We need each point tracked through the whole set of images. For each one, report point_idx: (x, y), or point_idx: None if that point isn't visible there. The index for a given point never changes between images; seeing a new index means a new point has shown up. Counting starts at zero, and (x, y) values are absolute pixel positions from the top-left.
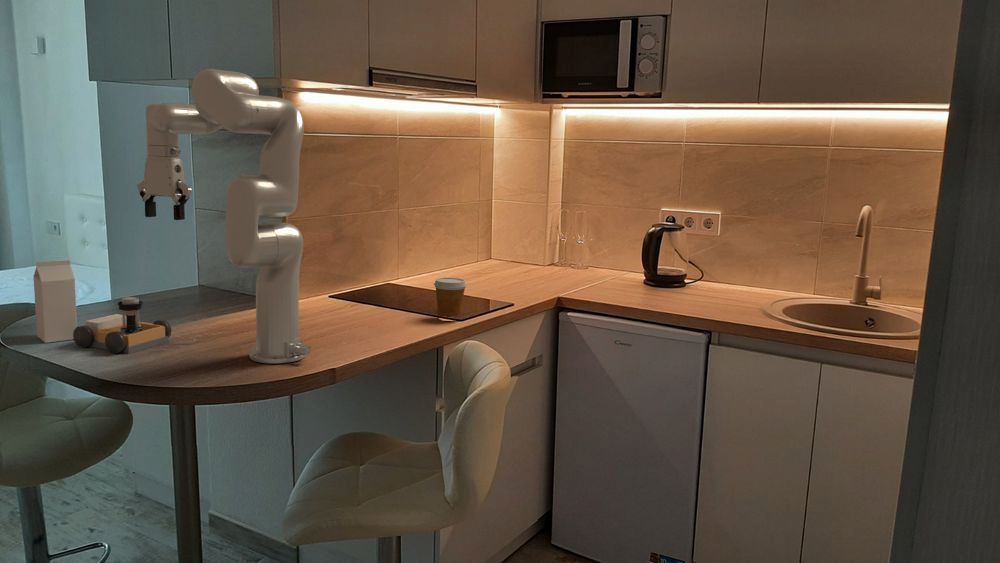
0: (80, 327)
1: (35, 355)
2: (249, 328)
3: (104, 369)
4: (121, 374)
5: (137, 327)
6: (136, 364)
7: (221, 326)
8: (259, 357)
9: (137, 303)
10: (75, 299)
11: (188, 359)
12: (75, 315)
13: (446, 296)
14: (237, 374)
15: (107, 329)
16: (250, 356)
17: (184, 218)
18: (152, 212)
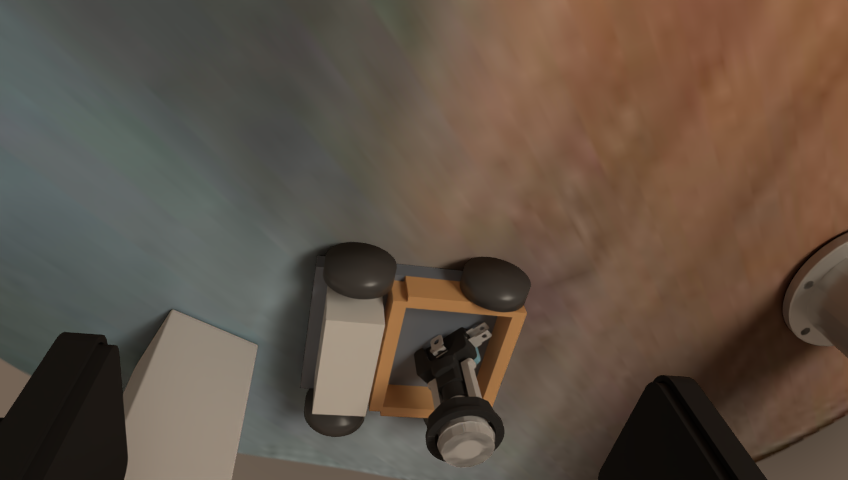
0: (334, 434)
1: (293, 460)
2: (719, 13)
3: (502, 468)
4: (552, 474)
5: (460, 356)
6: (545, 429)
7: (600, 26)
8: (819, 342)
9: (495, 437)
10: (237, 446)
11: (639, 369)
12: (246, 402)
13: None
14: (773, 405)
15: (386, 389)
16: (791, 330)
17: (692, 383)
18: (97, 453)
